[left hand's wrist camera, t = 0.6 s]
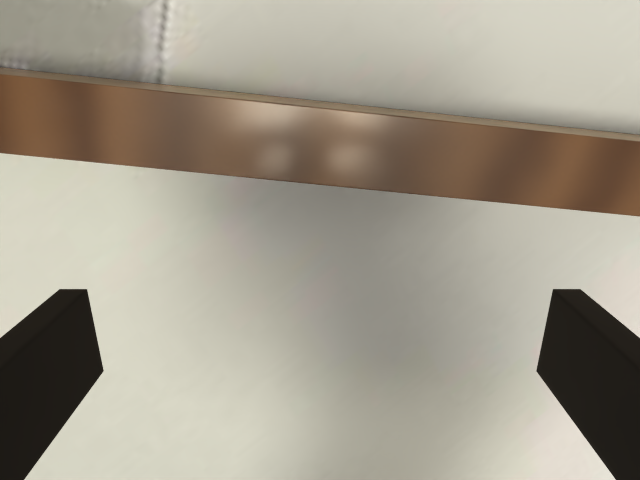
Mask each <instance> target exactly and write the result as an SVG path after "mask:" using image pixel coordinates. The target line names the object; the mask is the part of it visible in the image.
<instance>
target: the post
mask: <svg viewBox="0 0 640 480" xmlns="http://www.w3.org/2000/svg"><path fill="white" fill-rule="evenodd" d="M0 153H5V154H16V155H26V156H36V157H46V158H56V159H66V160H76V161H86V162H96V163H106V164H116V165H126V166H137V167H147V168H157V169H167V170H177V171H187V172H197V173H207V174H217V175H227V176H237V177H248V178H258V179H268V180H278V181H288V182H298V183H308V184H318V185H328V186H338V187H348V188H358V189H369V190H379V191H389V192H399V193H409V194H419V195H429V196H439V197H449V198H459V199H469V200H480V201H490V202H500V203H510V204H520V205H530V206H540V207H550V208H560V209H570V210H580V211H590V212H601V213H611V214H621V215H631V216H640V135H635V134H626V133H617V132H607V131H598V130H588V129H579V128H569V127H560V126H551V125H541V124H532V123H522V122H513V121H503V120H494V119H484V118H475V117H466V116H456V115H447V114H437V113H428V112H418V111H409V110H399V109H390V108H381V107H371V106H362V105H352V104H343V103H333V102H324V101H314V100H305V99H296V98H286V97H277V96H267V95H258V94H248V93H239V92H229V91H220V90H211V89H201V88H192V87H182V86H173V85H163V84H154V83H145V82H135V81H126V80H116V79H107V78H97V77H88V76H78V75H69V74H60V73H50V72H41V71H31V70H22V69H12V68H3V67H0Z"/></svg>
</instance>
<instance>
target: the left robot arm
mask: <svg viewBox="0 0 640 480" xmlns="http://www.w3.org/2000/svg"><path fill="white" fill-rule="evenodd" d="M102 372H103V366H102V361H101V356H100V351H99V346H98V341H97V337H96V332H95V327H94V322H93V317H92V312H91V307H90V302H89V297H88V292H87V289H59V290H58V291H57V292H56V293H55V294H53V295H52V296H51V297H50V298H49V299H47V300H46V301H45V302H44V303H42V304H41V305H40V306H39V307H38V308H36V309H35V310H34V311H33V312H31V313H30V314H29V315H28V316H27V317H25V318H24V319H23V320H22V321H21V322H19V323H18V324H17V325H16V326H14V327H13V328H12V329H11V330H10V331H8V332H7V333H6V334H5V335H4V336H2V337H1V338H0V480H24V479H25V478H26V476H27V475H28V473H29V472H30V471H31V469H32V468H33V467H34V465H35V464H36V463H37V461H38V460H39V458H40V457H41V456H42V454H43V453H44V452H45V450H46V449H47V448H48V446H49V445H50V443H51V442H52V441H53V439H54V438H55V437H56V435H57V434H58V433H59V431H60V430H61V428H62V427H63V426H64V424H65V423H66V422H67V420H68V419H69V418H70V416H71V415H72V413H73V412H74V411H75V409H76V408H77V407H78V405H79V404H80V402H81V401H82V400H83V398H84V397H85V396H86V394H87V393H88V392H89V390H90V389H91V387H92V386H93V385H94V383H95V382H96V381H97V379H98V378H99V377H100V375H101V374H102ZM537 372H538V374H539V375H540V377H541V378H542V379H543V381H544V382H545V383H546V385H547V386H548V387H549V389H550V390H551V392H552V393H553V394H554V396H555V397H556V398H557V400H558V401H559V402H560V404H561V405H562V407H563V408H564V409H565V411H566V412H567V413H568V415H569V416H570V418H571V419H572V420H573V422H574V423H575V424H576V426H577V427H578V428H579V430H580V431H581V433H582V434H583V435H584V437H585V438H586V439H587V441H588V442H589V443H590V445H591V446H592V448H593V449H594V450H595V452H596V453H597V454H598V456H599V457H600V458H601V460H602V461H603V463H604V464H605V465H606V467H607V468H608V469H609V471H610V472H611V473H612V475H613V476H614V478H615V479H616V480H640V338H639V337H638V336H636V335H635V334H634V333H633V332H632V331H630V330H629V329H628V328H627V327H626V326H624V325H623V324H622V323H621V322H619V321H618V320H617V319H616V318H615V317H613V316H612V315H611V314H610V313H609V312H607V311H606V310H605V309H604V308H602V307H601V306H600V305H599V304H598V303H596V302H595V301H594V300H593V299H591V298H590V297H589V296H588V295H587V294H585V293H584V292H583V291H582V290H581V289H553V292H552V297H551V302H550V307H549V312H548V317H547V322H546V327H545V332H544V337H543V341H542V346H541V351H540V356H539V361H538V366H537Z"/></svg>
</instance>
